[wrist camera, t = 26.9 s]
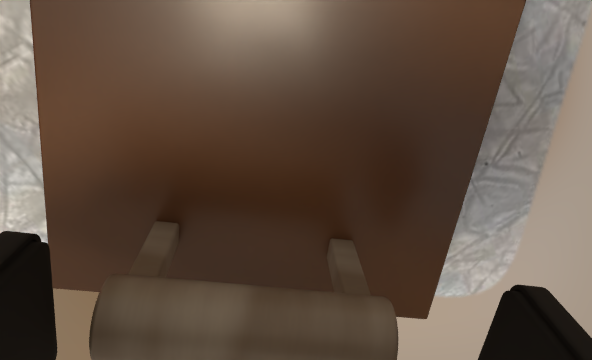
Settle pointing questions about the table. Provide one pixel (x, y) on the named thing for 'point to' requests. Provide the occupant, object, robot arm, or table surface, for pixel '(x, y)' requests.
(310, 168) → the lid
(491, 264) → the table surface
